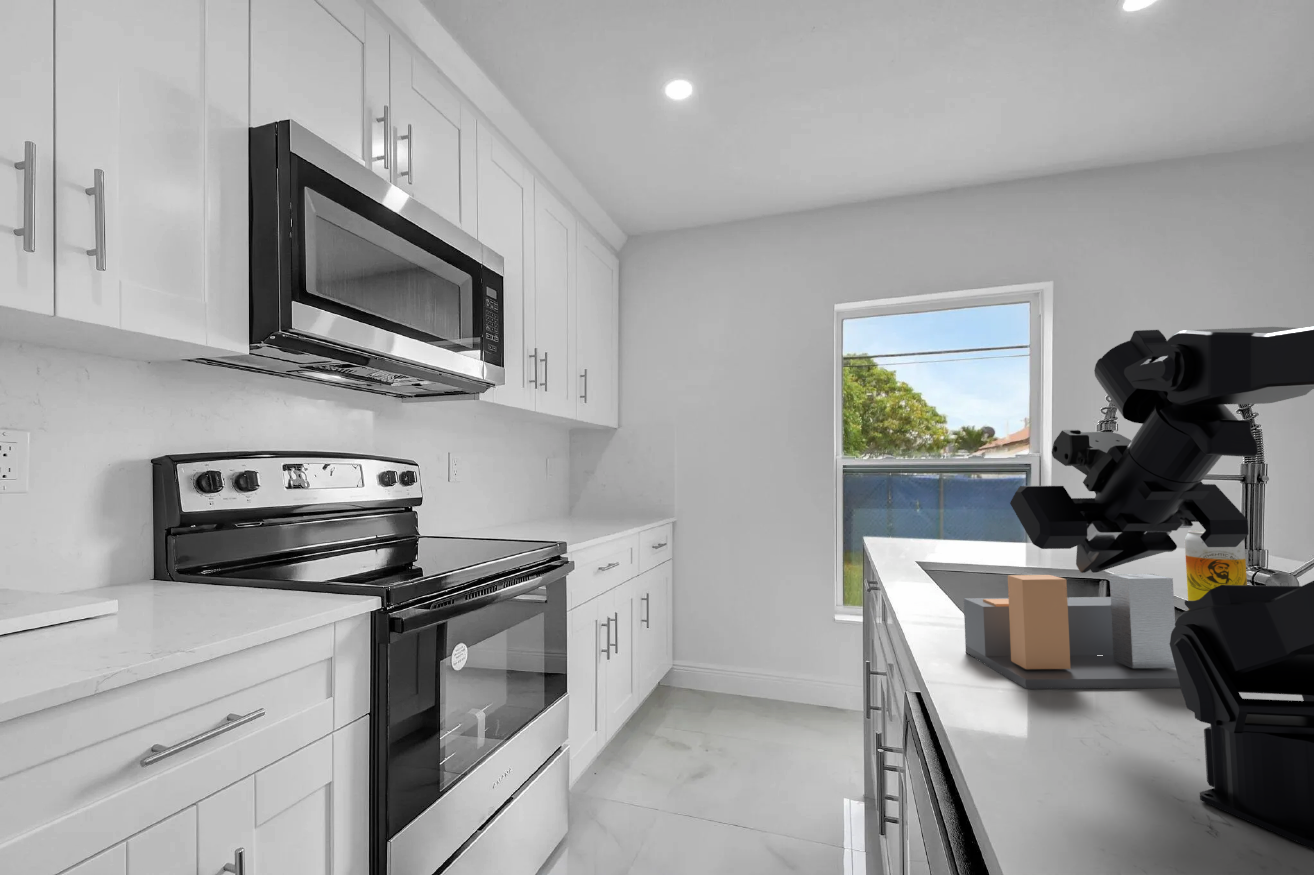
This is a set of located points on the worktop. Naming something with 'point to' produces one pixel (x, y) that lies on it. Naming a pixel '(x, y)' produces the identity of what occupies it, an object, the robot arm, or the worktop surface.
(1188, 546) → the beer can
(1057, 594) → the tan rectangular block
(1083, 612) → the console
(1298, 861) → the worktop surface
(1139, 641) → the light grey block
